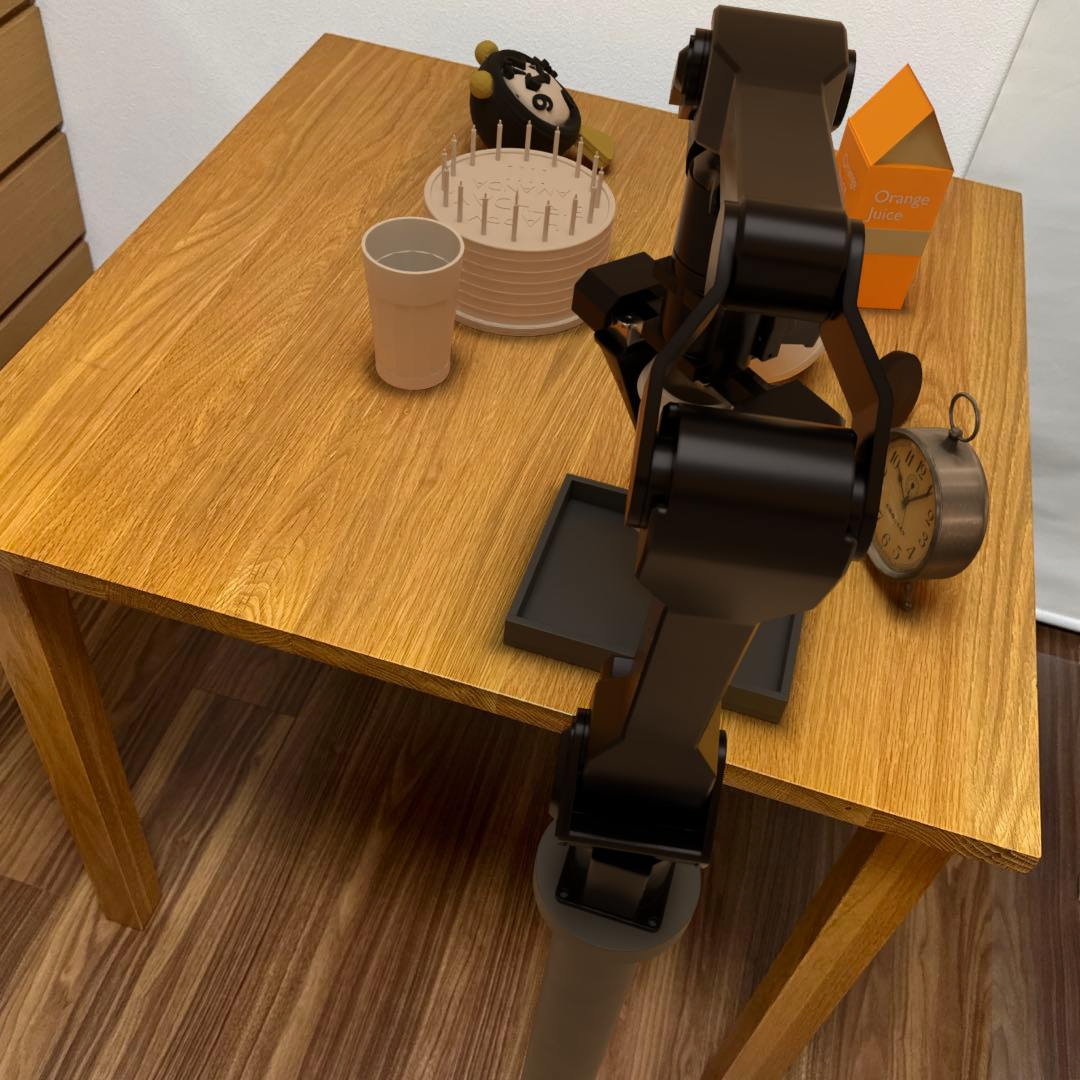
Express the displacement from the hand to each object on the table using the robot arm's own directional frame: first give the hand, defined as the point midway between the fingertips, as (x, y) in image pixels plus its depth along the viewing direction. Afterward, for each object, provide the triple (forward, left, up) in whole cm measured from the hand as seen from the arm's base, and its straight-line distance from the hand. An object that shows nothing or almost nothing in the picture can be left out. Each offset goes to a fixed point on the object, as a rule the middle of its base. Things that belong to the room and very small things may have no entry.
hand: (675, 464), depth 72 cm
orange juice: (+46, -10, -13) cm, 49 cm away
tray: (-1, -1, -13) cm, 13 cm away
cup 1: (+17, +25, -13) cm, 33 cm away
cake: (+33, +21, -13) cm, 41 cm away
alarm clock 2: (+9, -17, -13) cm, 23 cm away
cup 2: (0, 0, -5) cm, 5 cm away
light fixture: (+27, -6, -13) cm, 31 cm away
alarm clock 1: (+55, +26, -13) cm, 62 cm away
